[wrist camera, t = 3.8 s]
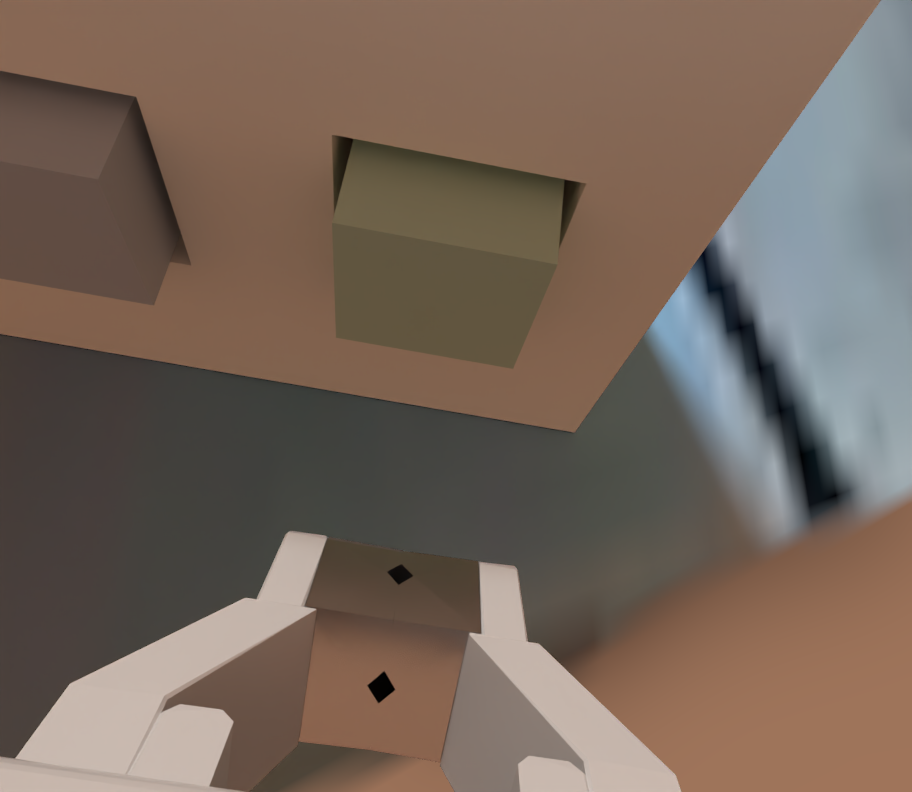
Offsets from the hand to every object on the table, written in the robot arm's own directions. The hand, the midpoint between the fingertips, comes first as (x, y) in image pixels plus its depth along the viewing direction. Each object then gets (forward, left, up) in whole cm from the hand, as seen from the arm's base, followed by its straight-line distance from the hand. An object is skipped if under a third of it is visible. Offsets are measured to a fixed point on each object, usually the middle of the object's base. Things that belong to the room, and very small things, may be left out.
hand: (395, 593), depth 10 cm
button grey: (-6, +9, -5) cm, 12 cm away
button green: (+2, +7, -5) cm, 9 cm away
